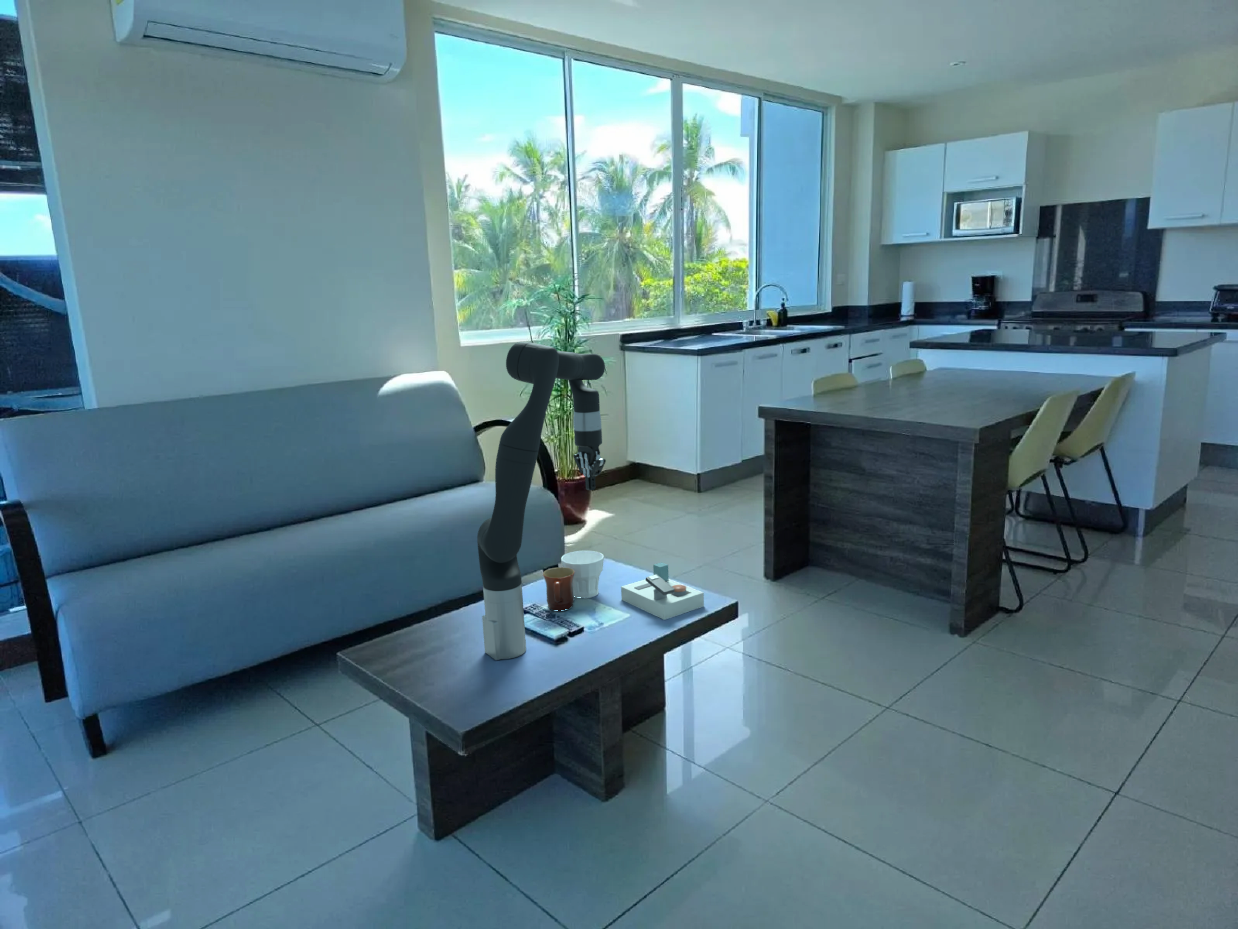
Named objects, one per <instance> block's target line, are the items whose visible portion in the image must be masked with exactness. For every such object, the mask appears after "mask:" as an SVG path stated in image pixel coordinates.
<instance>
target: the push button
mask: <svg viewBox="0 0 1238 929" xmlns="http://www.w3.org/2000/svg"><path fill="white" fill-rule="evenodd" d="M684 585H685V584H683V585H674V586H672V587H673V588H674V589H675V592H673V593H672V595H674V596H676V597H681V596H684V595H686V586H687V585H686V586H684Z"/></svg>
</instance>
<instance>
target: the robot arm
mask: <svg viewBox="0 0 1238 929" xmlns="http://www.w3.org/2000/svg"><path fill="white" fill-rule="evenodd" d="M505 359H506V360H505V369H506V371H507V373H508V375H509V376H510V377H511V378H513V379H514V380H517V381H519V382H523V383H527V384H531V385H532V389H531V393H530V395H529V398H528V401H527V403H526V404H525V406H524V407H523V409H522V410H521V411H520V412H519V414H518V415H517V416H516V417H515V418H514V419H513V420H512V421H511V422H510V423H509V424H508V425H507V426H506V427H505V429H504V430H503V432H502V433H501V435H500V439H499V443H498V444H499V445H498V449H497V453H496V459H495V469H494V470H495V472H494V473H495V474H494V478H495V479H494V480H495V481H494V483H495V498H494V506H493V510H492V514H491V517H489V518H487V519H486V520H484V521H483V523H481V524H480V527H479V528H478V532H477V537H476V538H477V540H476V542H477V553H478V563H479V571H480V575H481V576H480V577H481V582H482V590H483V602H484V603H483V604H484V614H483V615H482V616H481V620H482V621H481V622H482V632H483V633H482V634H483V643H484V644H483V645H484V653H486V654H487V655H488V656H489V657H490V658H492V659H494V660H495V661H499V660H507V659H510V660H511V659H513V658H514V659H515V658H517V657H520V656H522V655H523V654H524V653H526V651H527V642H526V640H527V639H526V629H525V628H526V626H525V614H524V597H523V596H524V594H523V585H522V581H523V580H522V572H521V569H520V565H519V562H518V561H519V560H518V554H519V552H520V549H521V546H522V542H523V534H524V532H523V531H524V524H525V523H524V521H525V513H526V505H527V502H528V498H529V493H530V489H531V486H532V482H533V477H534V472H535V468H536V464H537V460H538V454H539V451H540V444H541V438H542V433H543V429H544V423H545V419H546V415H547V410H548V406H549V403H550V399H551V396H552V392H553V390H554V386H555V382H556V379H558V380H565V381H566V380H567V381H568V384H569V387H570V391H571V393H572V397H573V399H572V400H573V401H572V402H573V436H574V439H573V440H574V445H575V446H576V447H578V448H577V452H576V454H573V455H572V457H573V459H574V462H575V464H576V467H577V468H578V471H579V473H580V474H583V476H584V477H585V478H584V479H585V490H587V491H589V492H590V491H594V490H596V477H597V476H600V475H601V473H602V472H603V471H602V470H603V469H604V466H605V465H606V462H607V460H606V458H602V457H601V451H600V445H602V444H603V432H602V430H603V429H602V417H601V410H600V409H601V408H600V406H601V405H600V393H599V391H598V390H597V389H594V388H591V387H588V386H586V385H585V383H584V381H596V380H599V379H601V377H603V375H604V373H605V370H606V366H605V365H606V364H605V361H604V359H603V357H602V356H601V355H599V354H597V353H577V352H572V351H564V350H563V351H562V350H561V351H560V350H557V349H556V348H555V347H553V346H549V345H545V344H541V343H536V342H530V341H519V342H516V343H514V344H513V345H512V346H511V347H510V348H509V349H508V352H507V356H506V358H505Z"/></svg>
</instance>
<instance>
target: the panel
mask: <svg viewBox="0 0 1238 929" xmlns="http://www.w3.org/2000/svg"><path fill="white" fill-rule="evenodd" d="M665 582H667V583H668V584H669V585H671V586H674V585H684V586H686V595H684V596H681V597H676V596H674V595H672V593H670V594H667V595H663V594H661V593H660V592H659V591H658V590H657V589H655V588H654V587H653V586H652V585H650V584H649V583H648V582H647V581H646V578H645V579H642V580H639V581H635V582H631V583H629V584H625V585H622V586H620V594H621V601H623V602H625V603H627V604H630V605H632V606H634V607H635V608H638V609H640V610H642V611H643V612H644V611H645V612H646V613H649V614H651V615H653V616H655V617H658V618H660V619H662V620H664V621H665V620H668V619H671V618H674V617H677V616H680V615H683V614H686V613H688V612H691V611H694V610H697V609H700V608H703V607H705V597H704V596H705V594H704V593H705V592H704V591H701V590H698V589H695V588H694V587H691V586H688V585H686V584H683V583H681V582H678V581H675V580H673V579H670V578H669V580H667V581H665Z"/></svg>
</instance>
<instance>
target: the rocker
mask: <svg viewBox="0 0 1238 929" xmlns="http://www.w3.org/2000/svg"><path fill="white" fill-rule="evenodd" d="M645 579H646V581H647V582H648V583H649V584H650V585H652V586H653V587H654V588H655V589H657V590H658V591H659V592H660V593H661V594H663V595H667V594H670V593H673V592H675V589H674V588H673V587H672V586H671V585H669V584H668V583H667V582H665V581H664V580H663V579H662V578H660V577H659V576H658V575H657V574H656V575H654V574H651V575H649V576H645Z"/></svg>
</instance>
